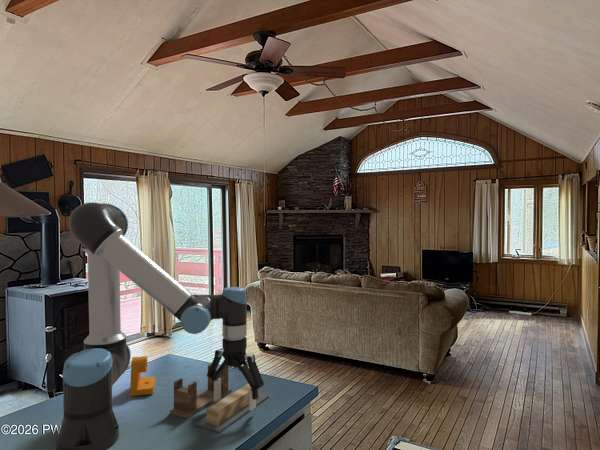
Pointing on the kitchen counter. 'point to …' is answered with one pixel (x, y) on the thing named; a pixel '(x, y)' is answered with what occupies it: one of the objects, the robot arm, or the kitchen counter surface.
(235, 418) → the mat
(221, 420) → the rail
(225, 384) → the bracket
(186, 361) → the kitchen counter surface
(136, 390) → the orange hinge mount
